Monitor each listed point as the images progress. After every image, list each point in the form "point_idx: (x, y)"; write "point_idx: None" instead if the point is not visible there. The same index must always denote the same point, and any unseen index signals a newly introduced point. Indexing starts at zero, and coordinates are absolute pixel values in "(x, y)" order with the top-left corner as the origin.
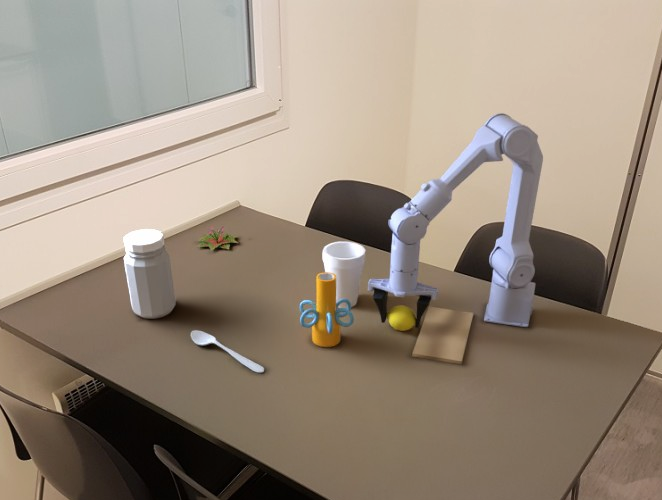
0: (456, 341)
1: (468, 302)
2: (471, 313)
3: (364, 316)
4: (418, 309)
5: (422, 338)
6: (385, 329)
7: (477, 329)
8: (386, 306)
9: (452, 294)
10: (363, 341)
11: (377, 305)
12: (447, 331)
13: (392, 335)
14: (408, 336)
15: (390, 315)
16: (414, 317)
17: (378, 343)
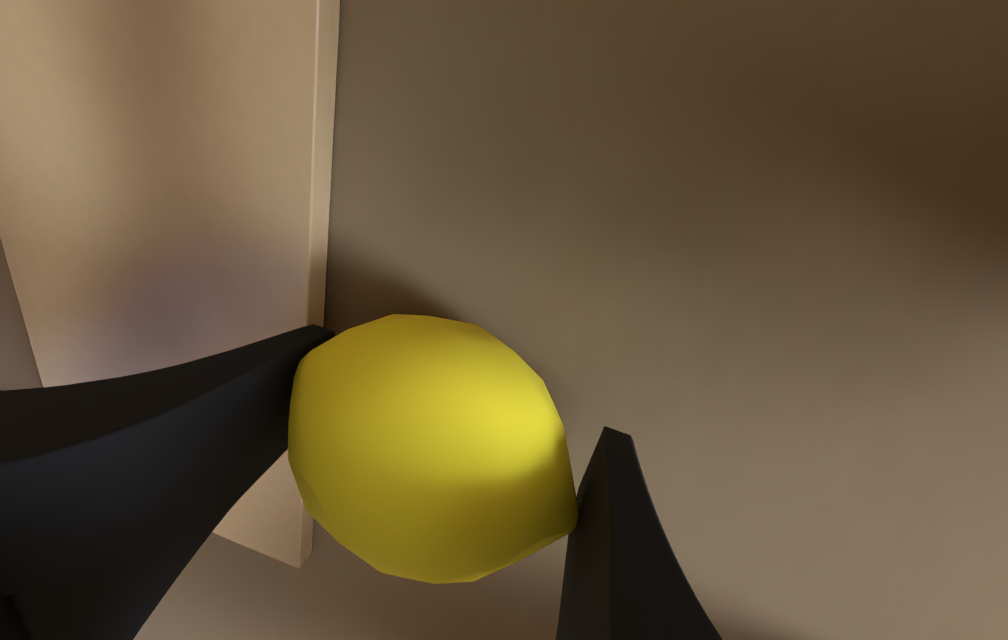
0: (29, 142)
1: None
2: None
3: (754, 565)
4: (111, 419)
5: (274, 188)
6: (598, 379)
7: (22, 330)
8: (565, 601)
9: (226, 635)
10: (880, 177)
11: (704, 623)
12: (129, 289)
13: (543, 286)
14: (409, 265)
15: (531, 463)
16: (292, 403)
17: (702, 138)
